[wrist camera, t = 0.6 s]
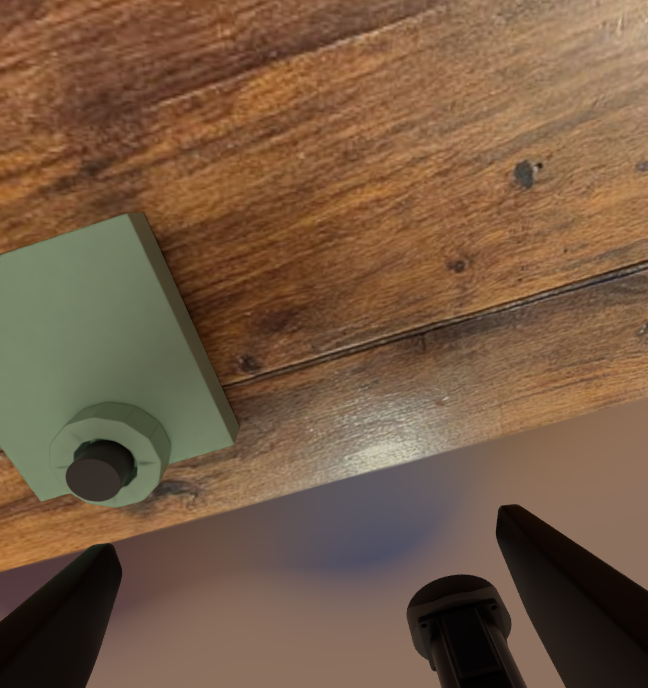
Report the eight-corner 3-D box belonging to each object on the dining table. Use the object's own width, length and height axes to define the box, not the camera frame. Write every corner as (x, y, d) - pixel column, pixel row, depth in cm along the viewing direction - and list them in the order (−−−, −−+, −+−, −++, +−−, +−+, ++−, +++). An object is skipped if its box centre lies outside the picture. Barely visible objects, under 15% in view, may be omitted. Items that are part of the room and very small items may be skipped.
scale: (244, 436, 23) (234, 474, 20) (66, 488, 24) (28, 533, 20) (144, 212, 18) (109, 213, 15) (-75, 284, 19) (-154, 300, 16)
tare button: (143, 473, 20) (130, 494, 18) (98, 486, 20) (82, 507, 19) (120, 433, 19) (104, 452, 18) (73, 447, 19) (54, 467, 18)
